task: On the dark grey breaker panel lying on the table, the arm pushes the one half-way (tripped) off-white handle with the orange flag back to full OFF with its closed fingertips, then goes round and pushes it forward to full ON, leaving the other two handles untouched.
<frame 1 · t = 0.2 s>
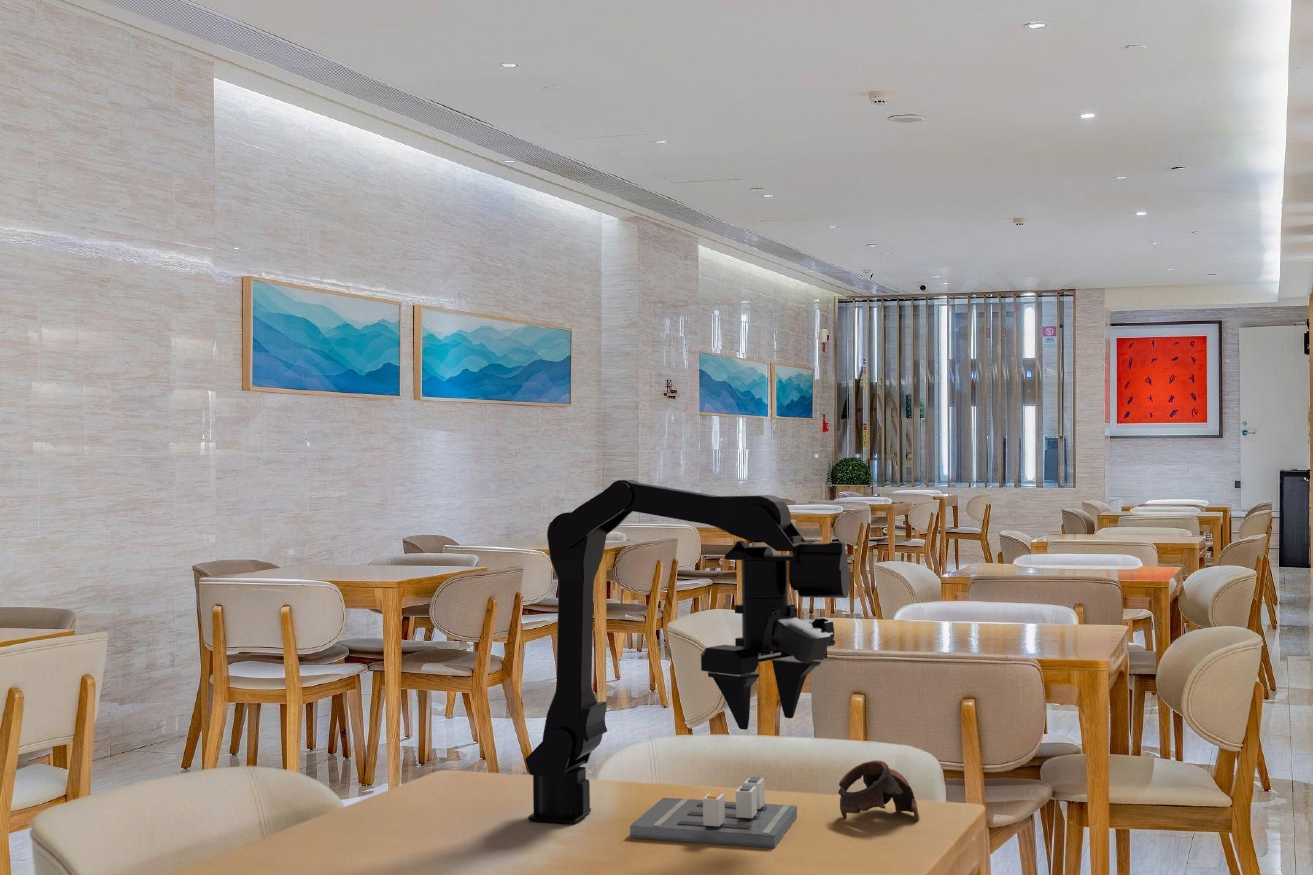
hand: (766, 723, 155), 13 cm above the table, fingers open, 9 cm apart
breaker 3: (754, 792, 161), point 4 cm above the table, slide at 3.0 cm
breaker 2: (746, 800, 157), point 3 cm above the table, slide at 3.0 cm
breaker 1: (714, 808, 154), point 3 cm above the table, slide at 0.0 cm
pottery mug: (879, 818, 162), on the table
panel: (715, 827, 158), on the table
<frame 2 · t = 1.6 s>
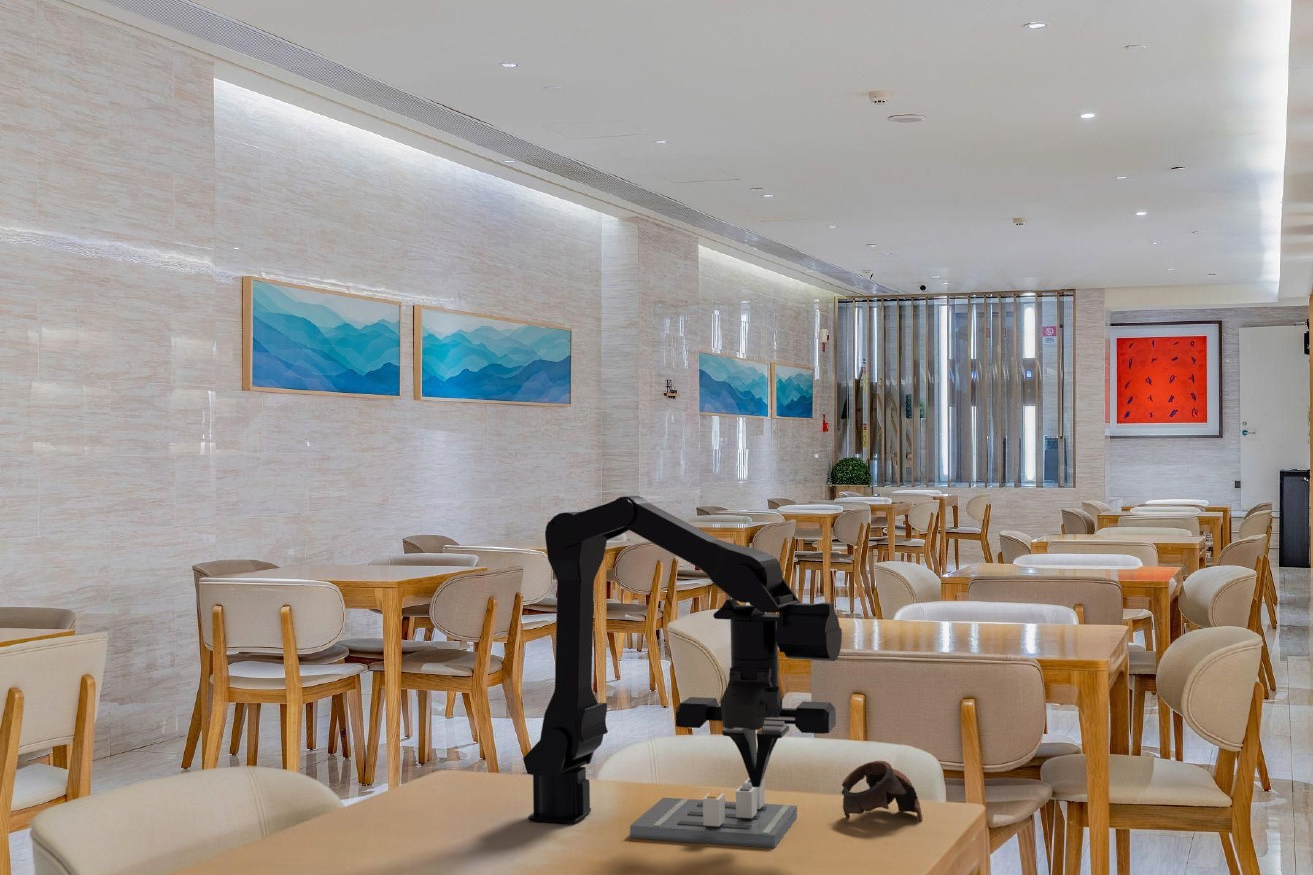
hand: (756, 786, 152), 6 cm above the table, fingers closed
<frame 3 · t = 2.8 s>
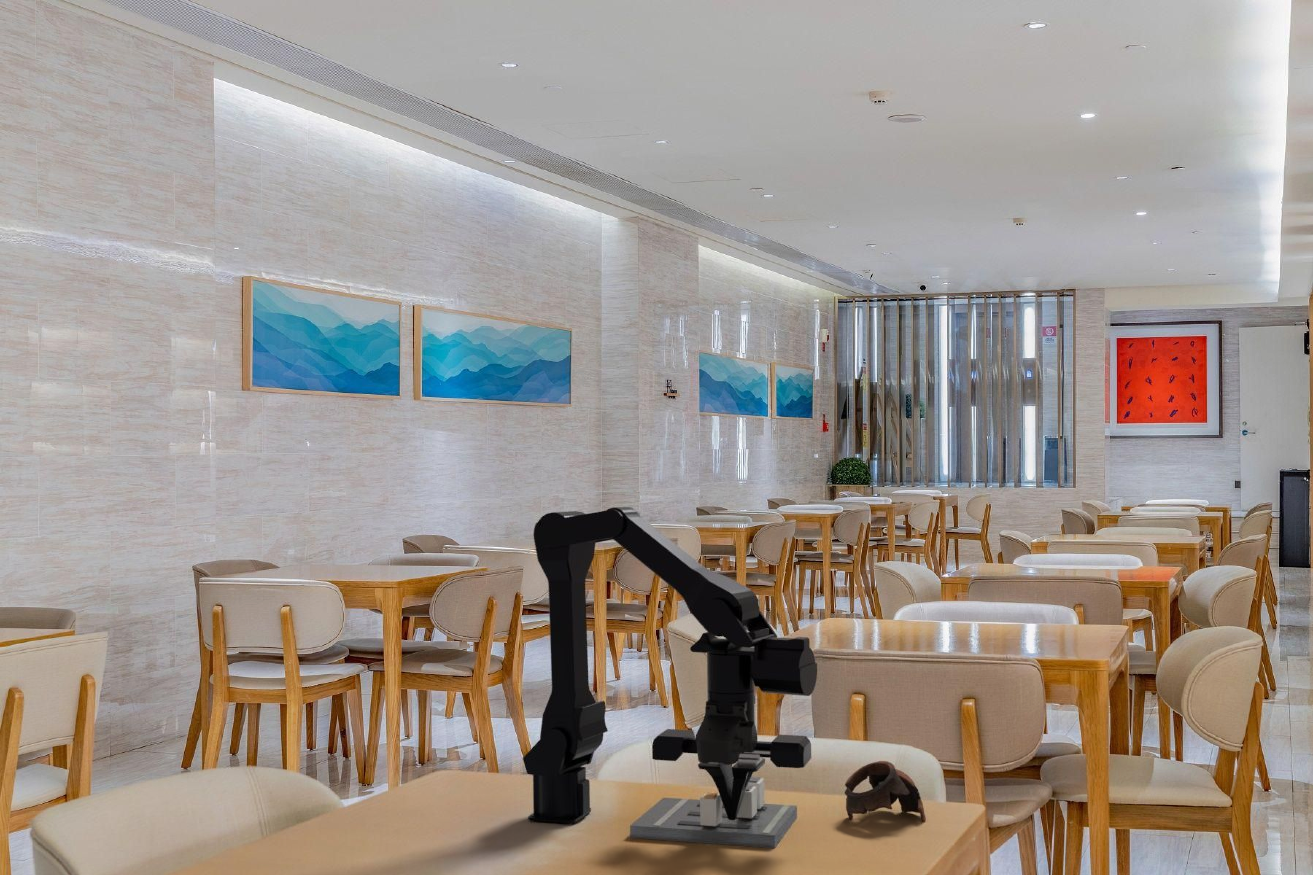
hand: (732, 819, 153), 2 cm above the table, fingers closed
breaker 1: (711, 808, 154), point 3 cm above the table, slide at -0.4 cm, touching gripper
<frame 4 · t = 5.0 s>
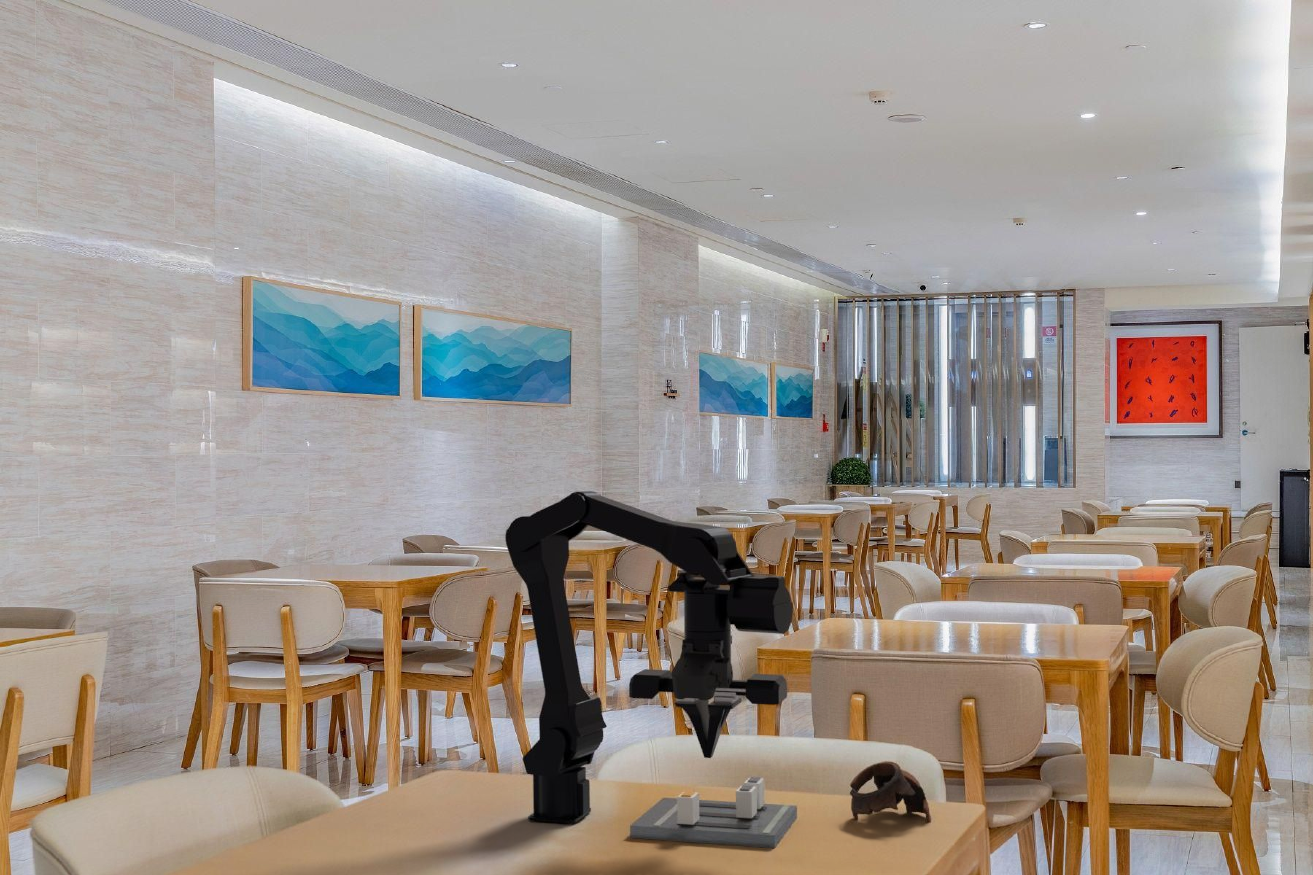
hand: (708, 757, 154), 10 cm above the table, fingers closed
breaker 1: (688, 806, 155), point 3 cm above the table, slide at -3.3 cm
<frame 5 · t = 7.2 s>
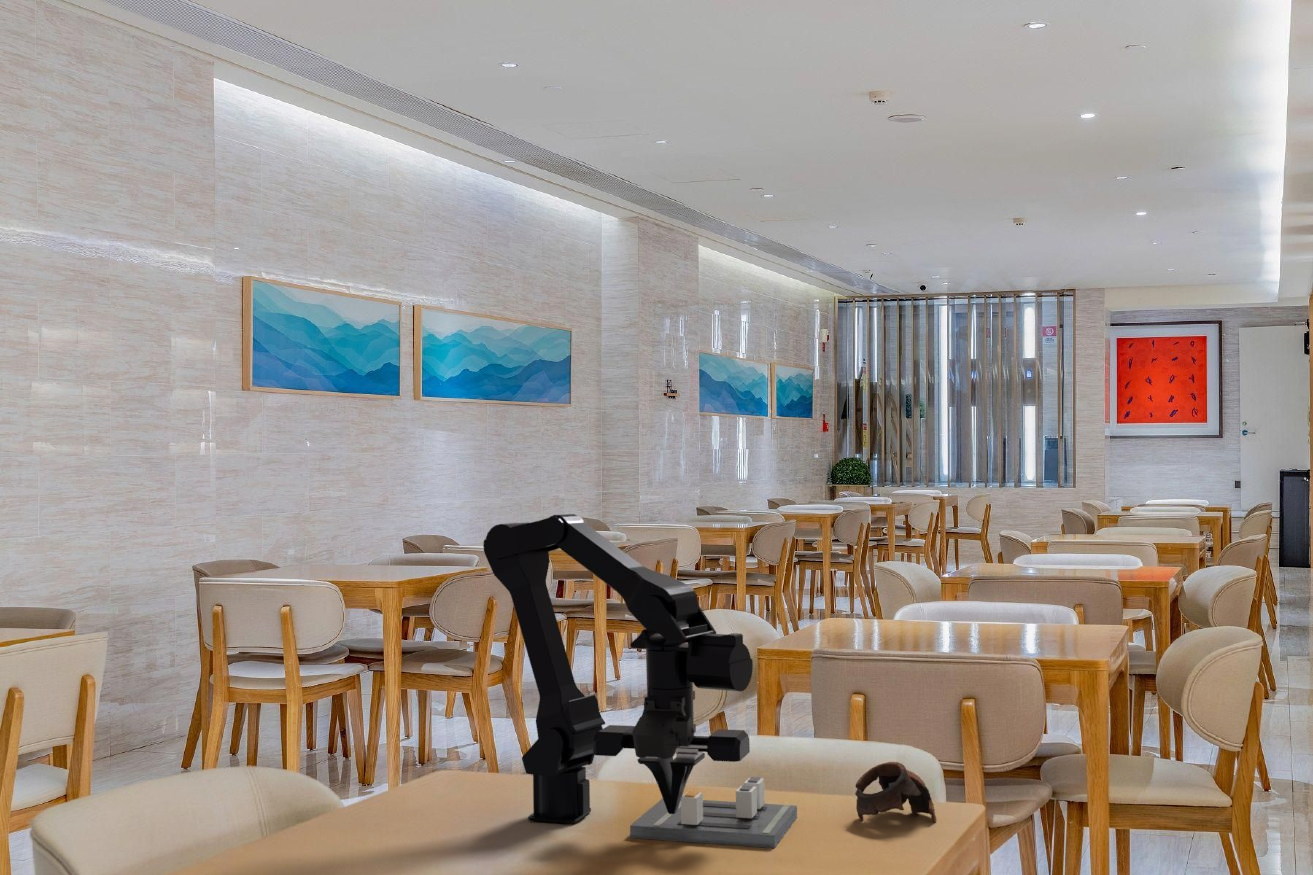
hand: (672, 813, 155), 3 cm above the table, fingers closed
breaker 1: (692, 807, 154), point 3 cm above the table, slide at -2.8 cm, touching gripper
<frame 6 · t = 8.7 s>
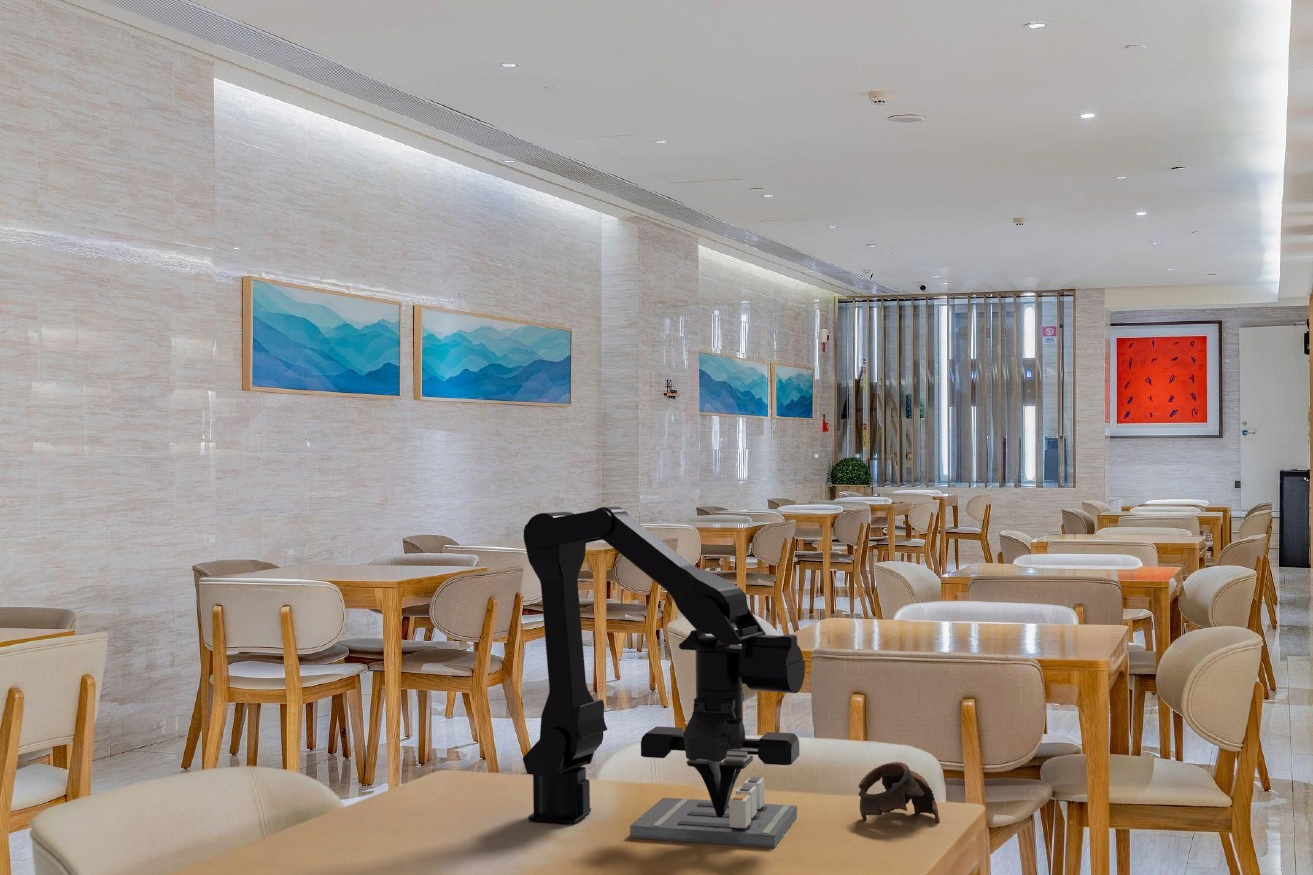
hand: (720, 816, 153), 3 cm above the table, fingers closed
breaker 1: (740, 810, 153), point 3 cm above the table, slide at 3.3 cm, touching gripper
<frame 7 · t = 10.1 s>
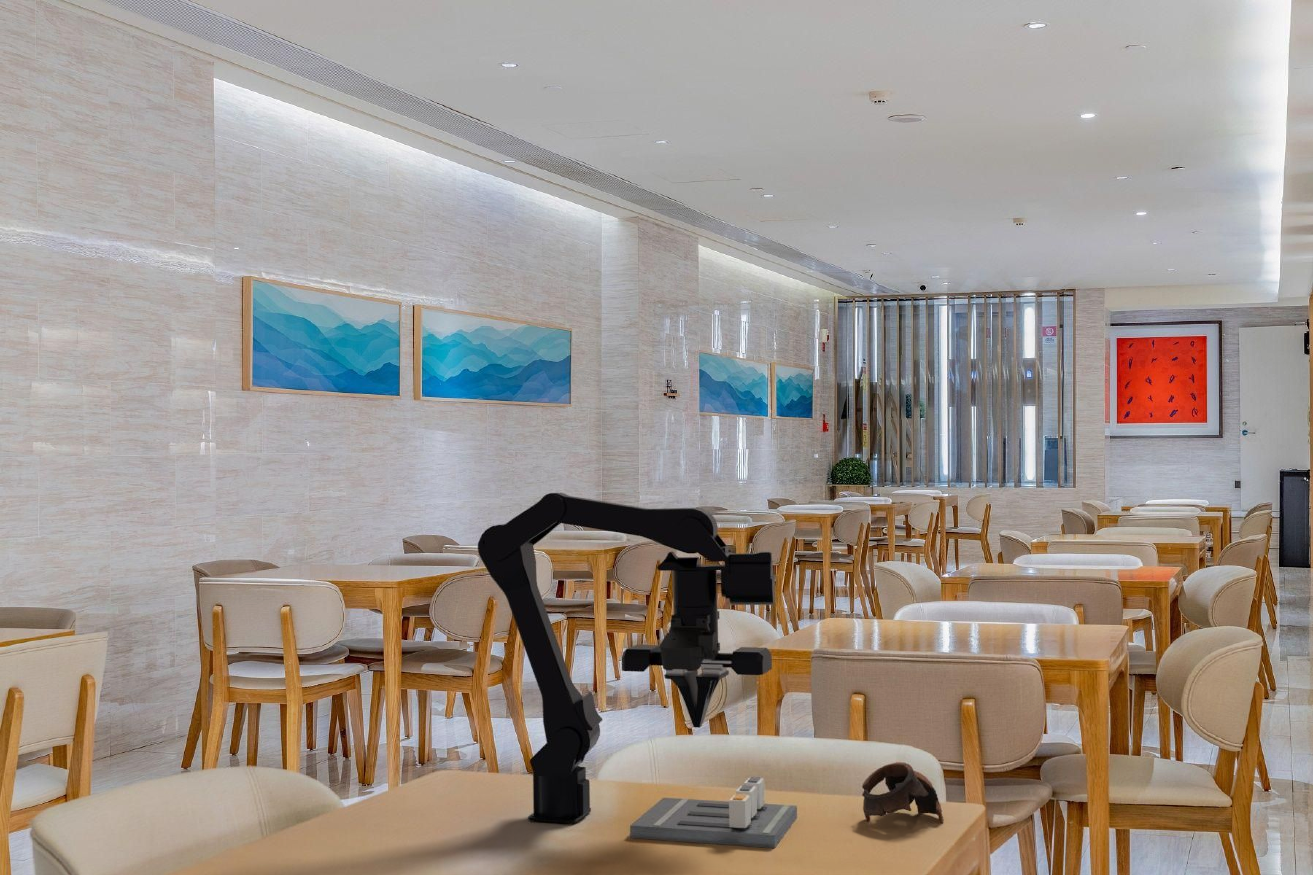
hand: (697, 726, 162), 12 cm above the table, fingers closed
breaker 1: (739, 810, 153), point 3 cm above the table, slide at 3.3 cm
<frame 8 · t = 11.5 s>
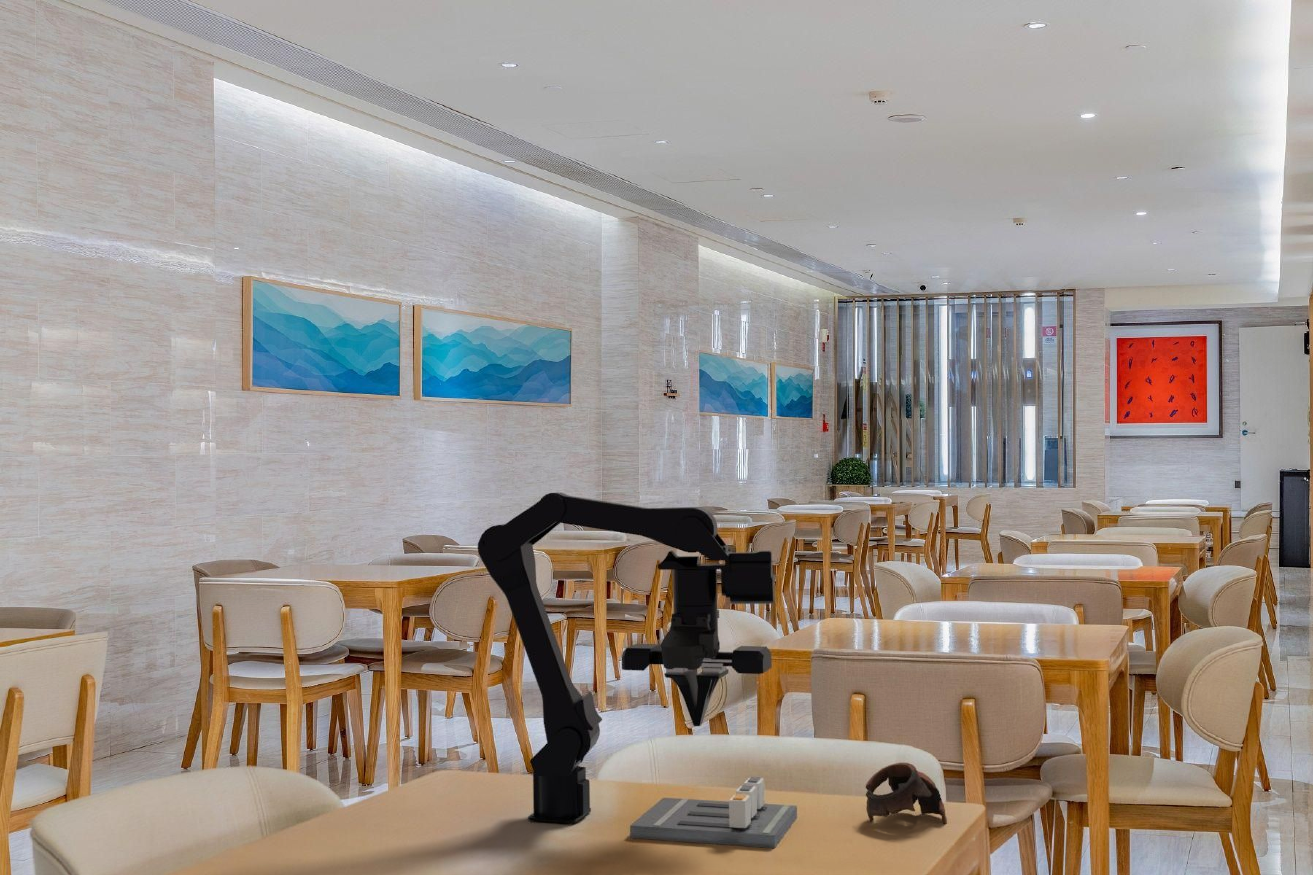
hand: (697, 725, 162), 12 cm above the table, fingers closed
at the end: breaker 1 slide at 3.3 cm; breaker 2 slide at 3.0 cm; breaker 3 slide at 3.0 cm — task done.
